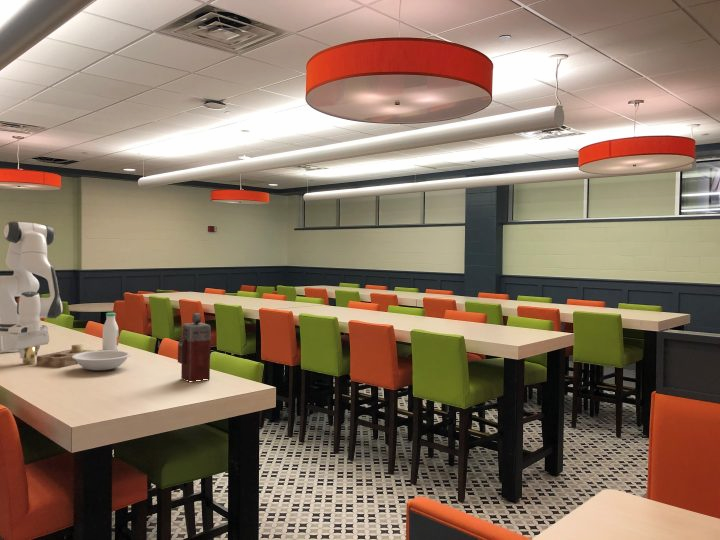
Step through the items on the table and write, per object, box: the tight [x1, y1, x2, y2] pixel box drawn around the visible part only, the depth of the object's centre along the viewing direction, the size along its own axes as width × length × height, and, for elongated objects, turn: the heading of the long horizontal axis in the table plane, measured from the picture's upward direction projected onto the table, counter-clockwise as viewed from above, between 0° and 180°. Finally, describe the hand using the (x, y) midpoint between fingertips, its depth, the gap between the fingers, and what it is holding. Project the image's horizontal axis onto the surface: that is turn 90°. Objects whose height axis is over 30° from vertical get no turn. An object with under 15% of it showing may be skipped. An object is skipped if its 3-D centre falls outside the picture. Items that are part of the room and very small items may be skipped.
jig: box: [36, 344, 93, 368], centre depth 266 cm, size 14×22×7 cm, turn 165°
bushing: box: [22, 347, 36, 364], centre depth 260 cm, size 5×5×7 cm
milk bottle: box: [101, 312, 119, 351], centre depth 300 cm, size 8×8×20 cm
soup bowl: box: [72, 350, 132, 371], centre depth 252 cm, size 24×24×7 cm
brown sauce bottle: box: [177, 312, 212, 381], centre depth 236 cm, size 9×11×28 cm
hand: (28, 356), depth 260 cm, fingers closed on bushing, 5 cm apart
